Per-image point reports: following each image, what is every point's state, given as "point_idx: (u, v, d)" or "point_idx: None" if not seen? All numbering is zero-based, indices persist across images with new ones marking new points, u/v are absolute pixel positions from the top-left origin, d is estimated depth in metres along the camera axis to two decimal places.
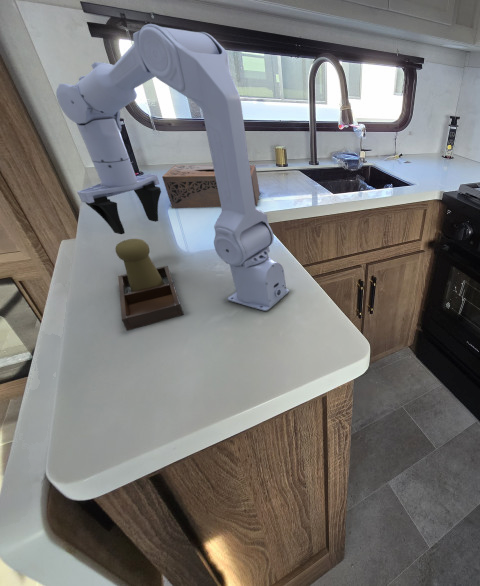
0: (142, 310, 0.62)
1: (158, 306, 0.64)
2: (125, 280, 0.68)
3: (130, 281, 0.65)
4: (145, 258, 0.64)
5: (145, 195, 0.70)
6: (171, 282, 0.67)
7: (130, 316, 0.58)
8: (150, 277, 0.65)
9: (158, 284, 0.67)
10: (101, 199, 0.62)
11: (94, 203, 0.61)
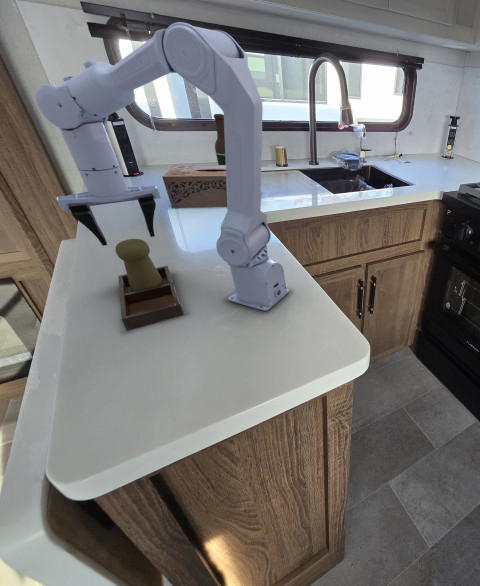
0: (142, 310, 0.62)
1: (158, 306, 0.64)
2: (125, 280, 0.68)
3: (130, 281, 0.65)
4: (145, 258, 0.64)
5: (141, 208, 0.63)
6: (171, 282, 0.67)
7: (130, 316, 0.58)
8: (150, 277, 0.65)
9: (158, 284, 0.67)
10: (79, 208, 0.57)
11: (71, 211, 0.57)
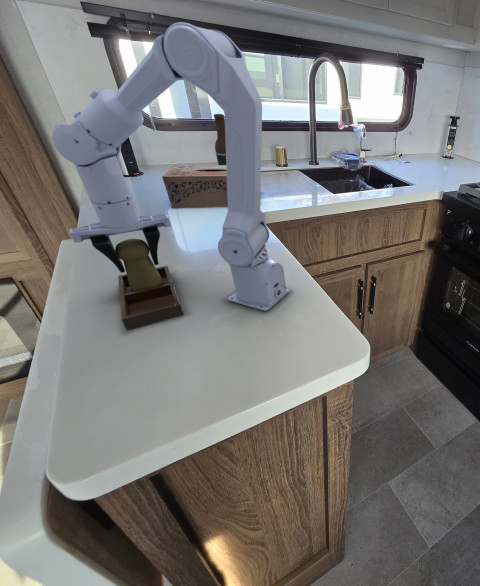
0: (142, 310, 0.62)
1: (158, 306, 0.64)
2: (125, 280, 0.68)
3: (130, 281, 0.65)
4: (145, 258, 0.64)
5: None
6: (171, 282, 0.67)
7: (130, 316, 0.58)
8: (149, 277, 0.65)
9: (158, 284, 0.67)
10: (99, 238, 0.59)
11: None
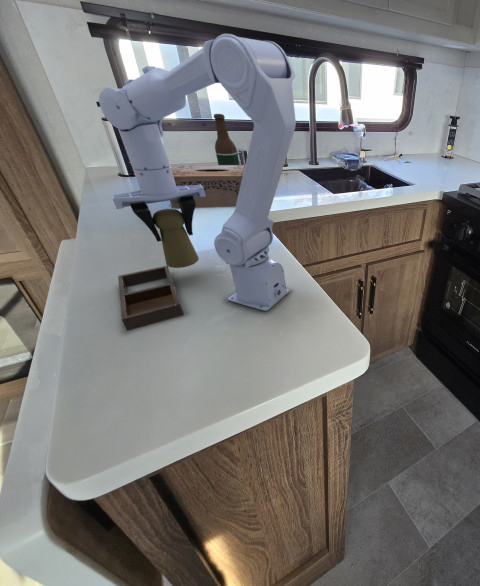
0: (142, 310, 0.62)
1: (158, 306, 0.64)
2: (125, 280, 0.68)
3: (165, 250, 0.66)
4: (180, 227, 0.65)
5: (181, 207, 0.65)
6: (171, 282, 0.67)
7: (130, 316, 0.58)
8: (184, 246, 0.67)
9: (192, 254, 0.69)
10: (138, 205, 0.60)
11: None
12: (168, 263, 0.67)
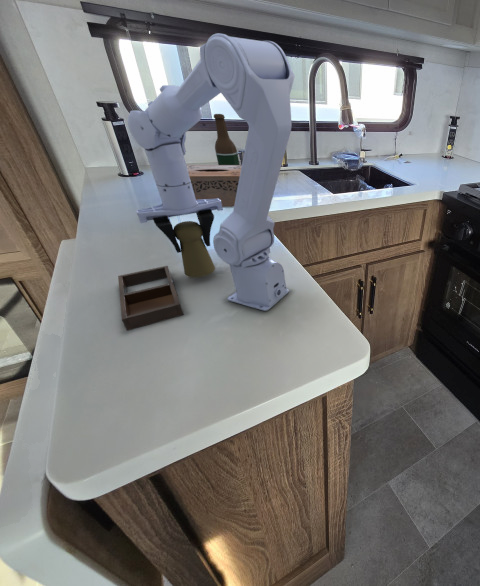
0: (142, 310, 0.62)
1: (158, 306, 0.64)
2: (125, 280, 0.68)
3: (185, 261, 0.69)
4: (199, 239, 0.69)
5: (200, 220, 0.68)
6: (171, 282, 0.67)
7: (130, 316, 0.58)
8: (202, 257, 0.70)
9: (209, 264, 0.72)
10: (161, 219, 0.63)
11: None
12: (187, 273, 0.71)
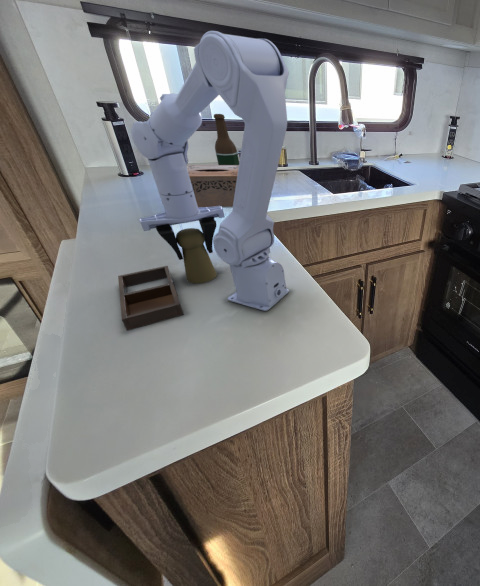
0: (142, 310, 0.62)
1: (158, 306, 0.64)
2: (125, 280, 0.68)
3: (187, 267, 0.70)
4: (201, 246, 0.70)
5: (203, 227, 0.69)
6: (171, 282, 0.67)
7: (130, 316, 0.58)
8: (204, 263, 0.71)
9: (211, 270, 0.73)
10: (163, 227, 0.64)
11: (157, 230, 0.64)
12: (189, 279, 0.71)
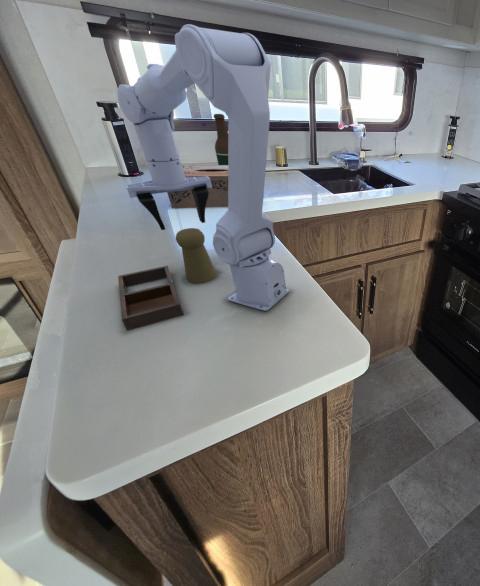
0: (142, 310, 0.62)
1: (158, 306, 0.64)
2: (125, 280, 0.68)
3: (187, 267, 0.70)
4: (201, 246, 0.70)
5: (195, 196, 0.70)
6: (171, 282, 0.67)
7: (130, 316, 0.58)
8: (204, 263, 0.71)
9: (211, 270, 0.73)
10: (144, 195, 0.64)
11: (138, 198, 0.64)
12: (189, 279, 0.71)
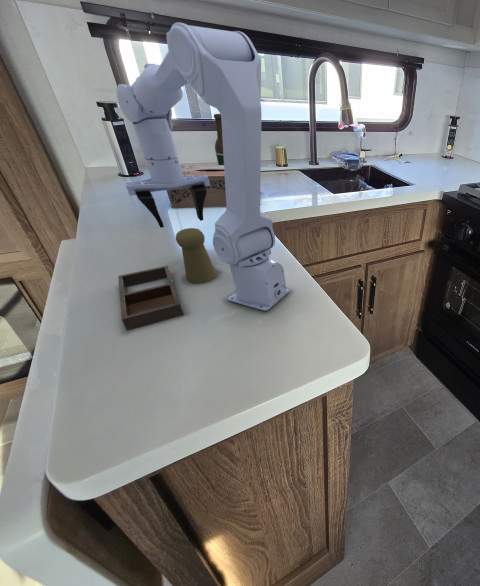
0: (142, 310, 0.62)
1: (158, 306, 0.64)
2: (125, 280, 0.68)
3: (187, 267, 0.70)
4: (201, 246, 0.70)
5: (193, 194, 0.71)
6: (171, 282, 0.67)
7: (130, 316, 0.58)
8: (204, 263, 0.71)
9: (211, 270, 0.73)
10: (143, 193, 0.65)
11: (137, 196, 0.65)
12: (189, 279, 0.71)
